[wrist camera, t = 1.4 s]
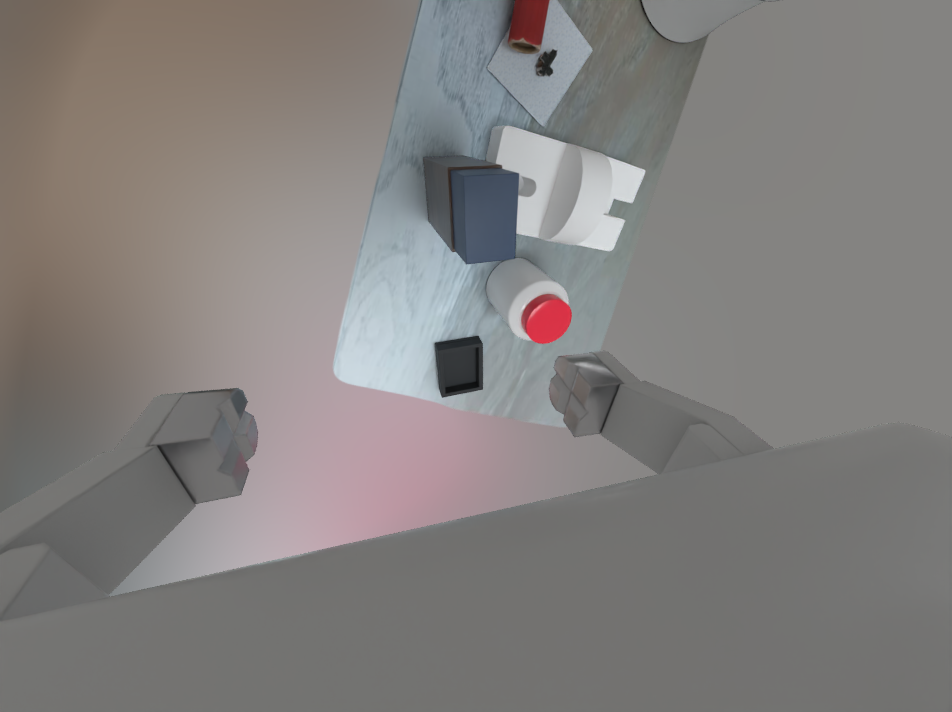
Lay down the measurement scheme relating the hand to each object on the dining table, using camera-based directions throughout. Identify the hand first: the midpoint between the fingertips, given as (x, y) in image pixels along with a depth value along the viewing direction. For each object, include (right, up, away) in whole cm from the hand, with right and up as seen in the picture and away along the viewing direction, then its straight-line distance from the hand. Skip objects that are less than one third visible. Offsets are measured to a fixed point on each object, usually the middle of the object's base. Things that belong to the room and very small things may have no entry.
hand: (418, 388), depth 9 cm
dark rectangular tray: (-1, 0, +41) cm, 41 cm away
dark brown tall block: (-2, +19, +28) cm, 34 cm away
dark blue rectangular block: (+2, +13, +19) cm, 23 cm away
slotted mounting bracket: (+11, +21, +32) cm, 39 cm away
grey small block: (+8, +30, +24) cm, 40 cm away
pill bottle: (+7, +11, +37) cm, 39 cm away
